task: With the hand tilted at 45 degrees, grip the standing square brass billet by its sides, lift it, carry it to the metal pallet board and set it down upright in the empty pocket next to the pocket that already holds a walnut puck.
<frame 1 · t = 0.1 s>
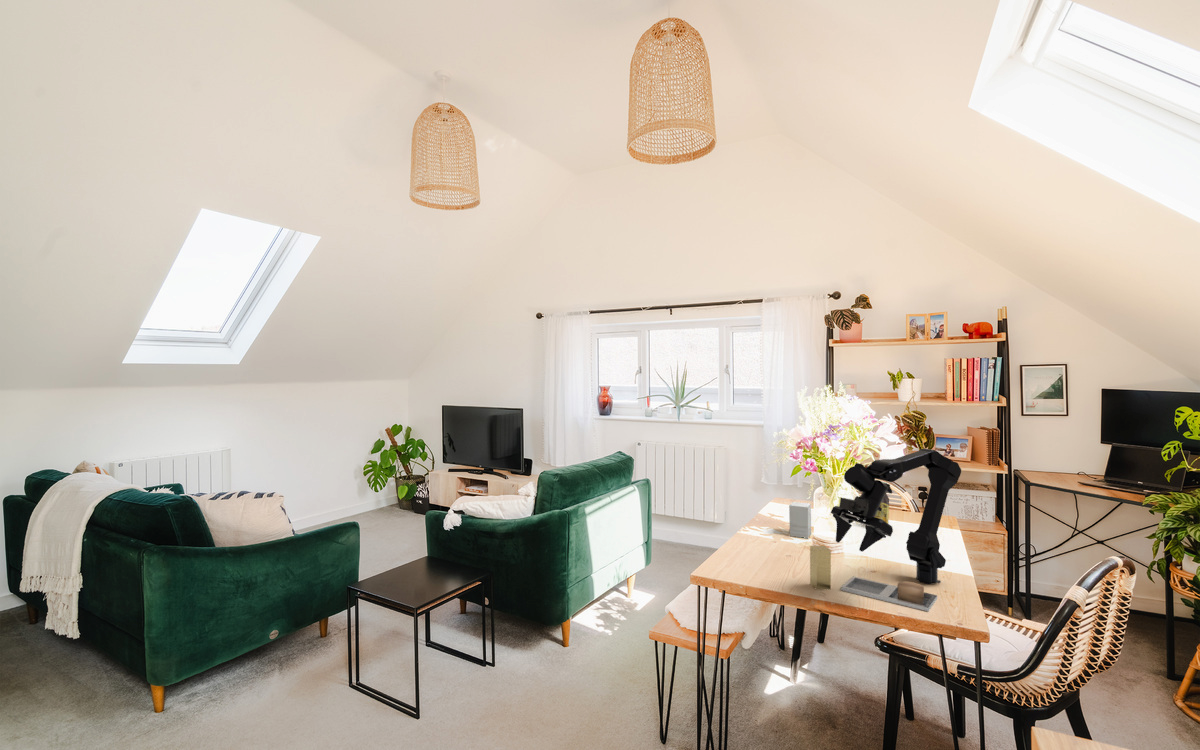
hand: (848, 546, 166), 15 cm above the table, tool tilted 30°, fingers open, 9 cm apart
brass billet: (820, 586, 174), on the table
supplement box: (800, 535, 229), on the table
sauce bottle: (880, 530, 237), on the table
walnut puck: (910, 599, 162), point 1 cm above the table, touching pallet
pallet: (888, 597, 165), on the table
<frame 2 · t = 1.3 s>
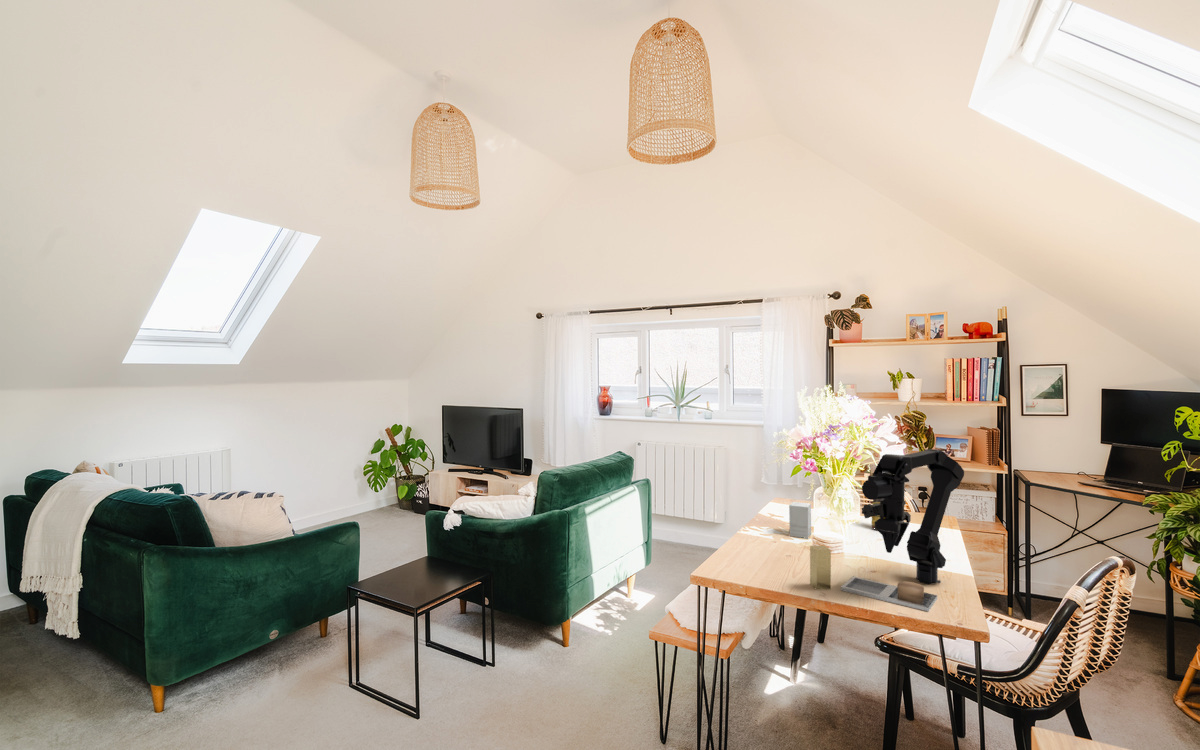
hand: (892, 549, 170), 13 cm above the table, tool pointing down, fingers open, 9 cm apart
nothing on the table moved.
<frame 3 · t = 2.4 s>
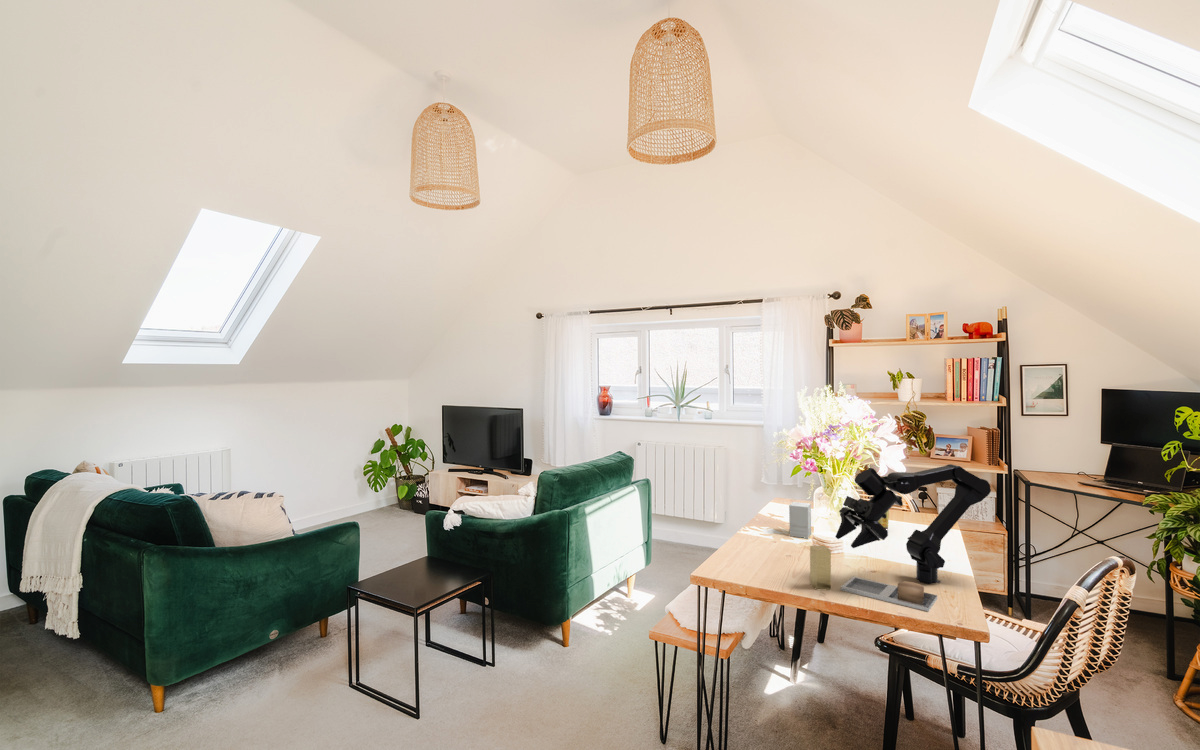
hand: (844, 542, 174), 14 cm above the table, tool tilted 45°, fingers open, 9 cm apart
nothing on the table moved.
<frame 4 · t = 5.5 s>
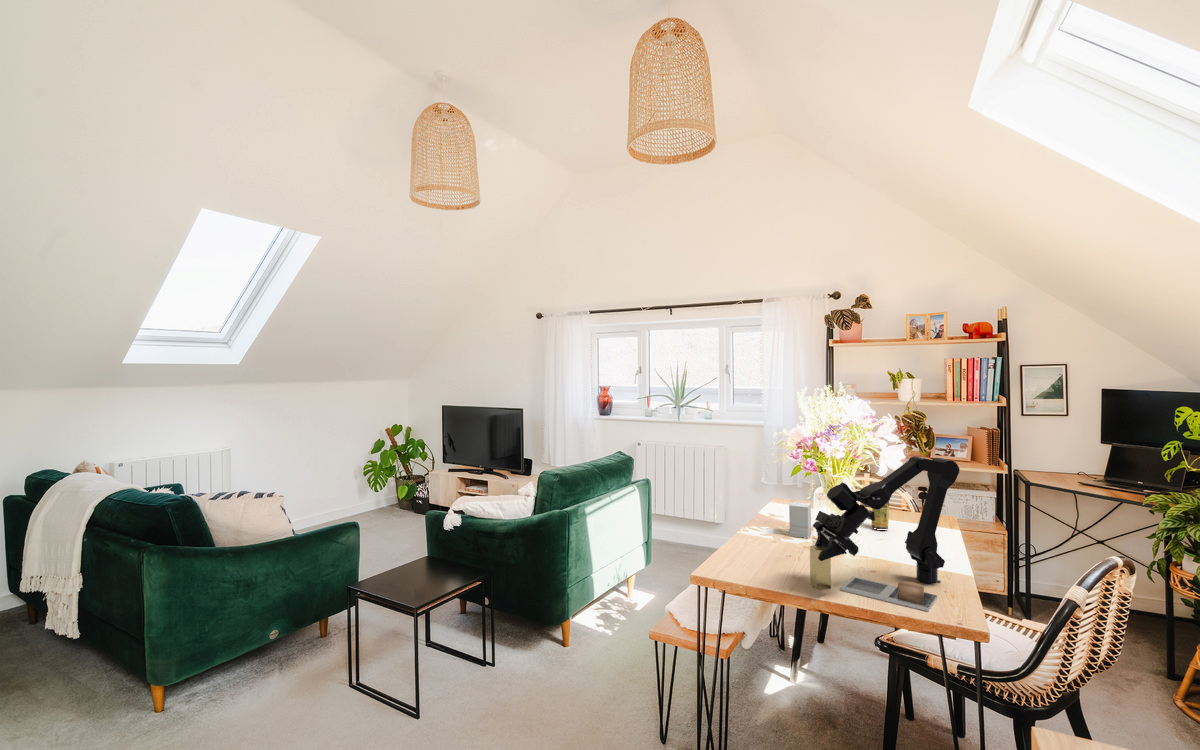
hand: (815, 557, 174), 9 cm above the table, tool tilted 45°, fingers closed on brass billet, 4 cm apart
brass billet: (820, 586, 174), on the table, touching gripper
everything else where it was.
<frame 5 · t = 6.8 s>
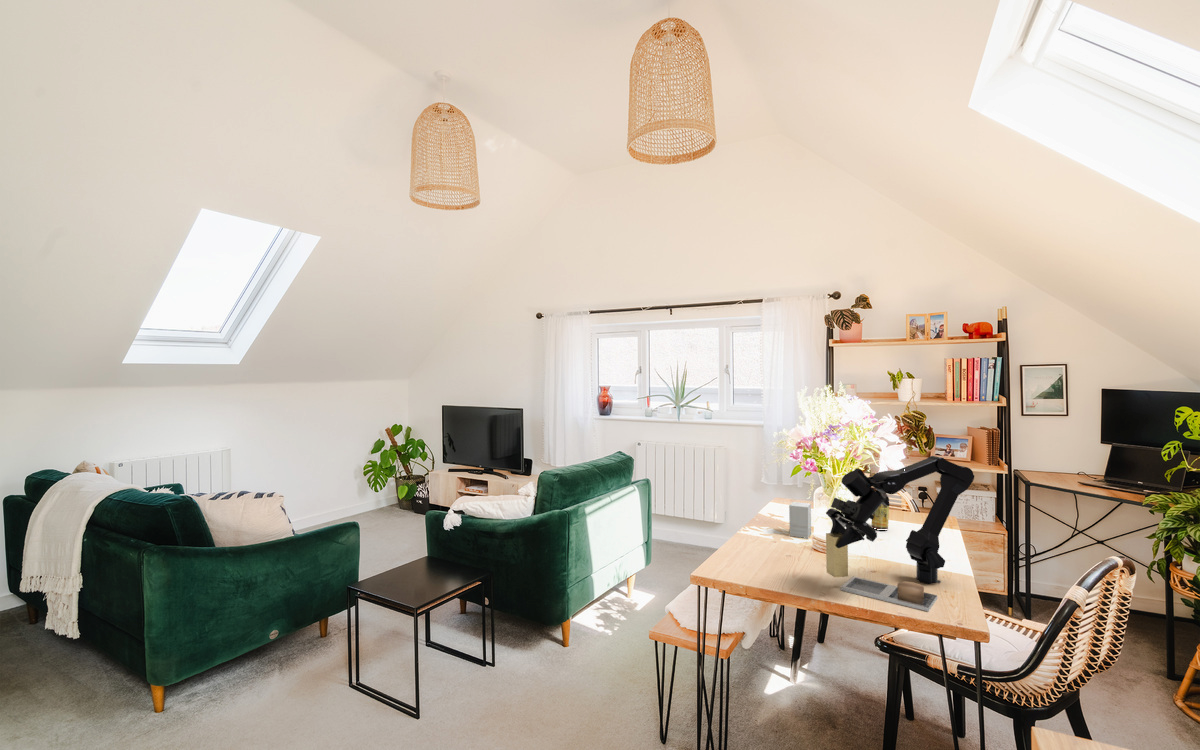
hand: (832, 544, 172), 13 cm above the table, tool tilted 45°, fingers closed on brass billet, 4 cm apart
brass billet: (837, 574, 172), point 4 cm above the table, touching gripper
everything else where it was.
when the fingers open (11 cm above the table, at t = 8.4 s): brass billet stays where it is, resting on pallet.
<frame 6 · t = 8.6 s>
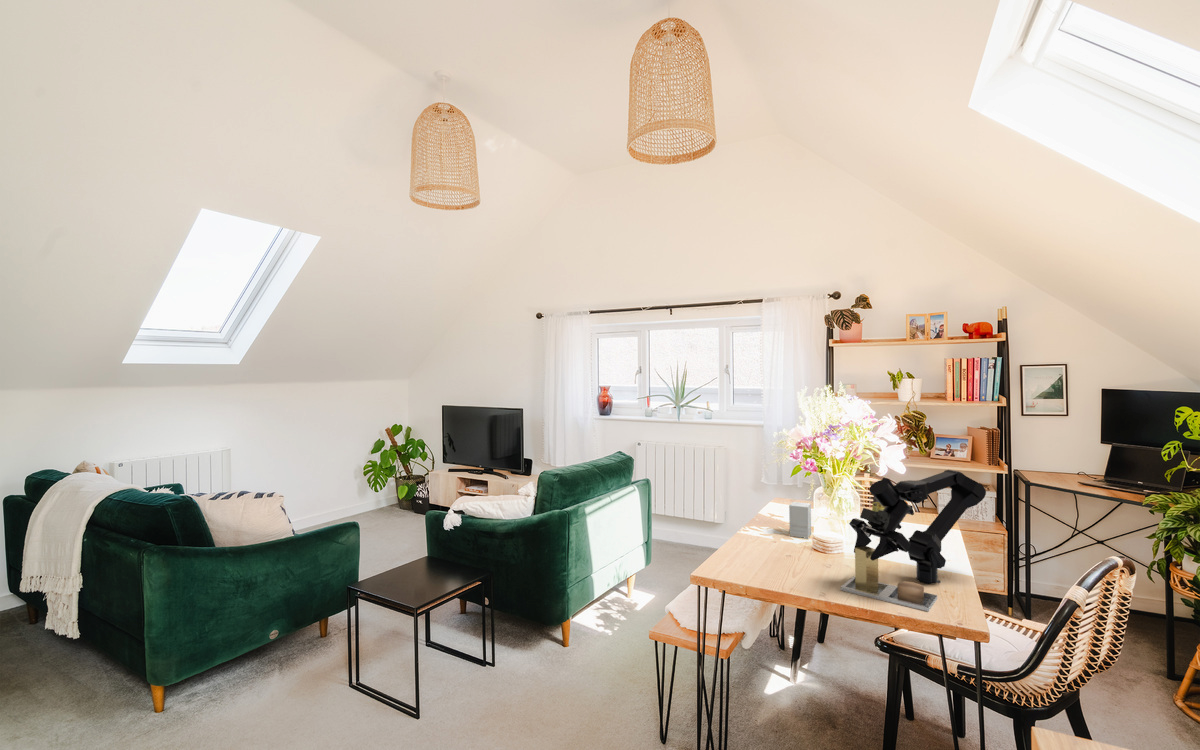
hand: (862, 556, 169), 11 cm above the table, tool tilted 45°, fingers open, 6 cm apart
brass billet: (866, 589, 169), point 1 cm above the table, touching pallet
everything else where it was.
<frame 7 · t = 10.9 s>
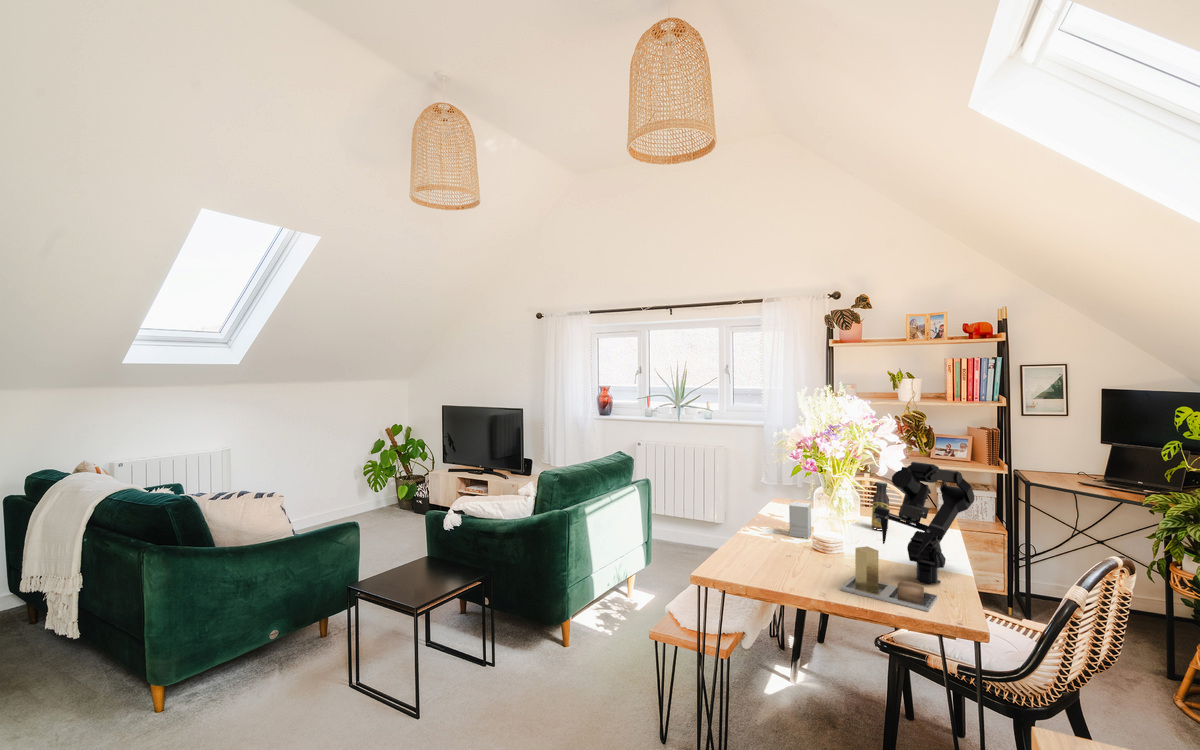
hand: (900, 549, 168), 13 cm above the table, tool tilted 30°, fingers open, 9 cm apart
nothing on the table moved.
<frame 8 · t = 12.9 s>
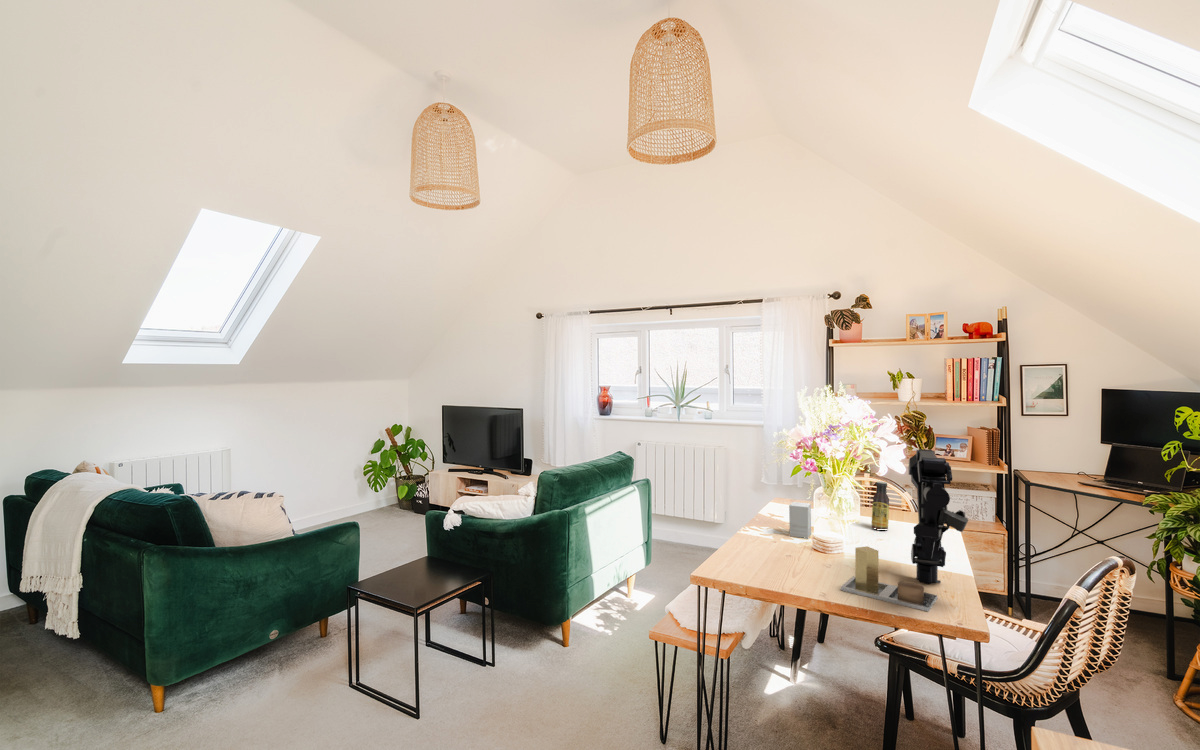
hand: (932, 554, 164), 13 cm above the table, tool pointing down, fingers open, 9 cm apart
nothing on the table moved.
at the end: brass billet 0.0 cm from the target spot on the pallet, point 1.0 cm above the pallet's base; brass billet tilted 0°; the gripper is holding nothing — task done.
